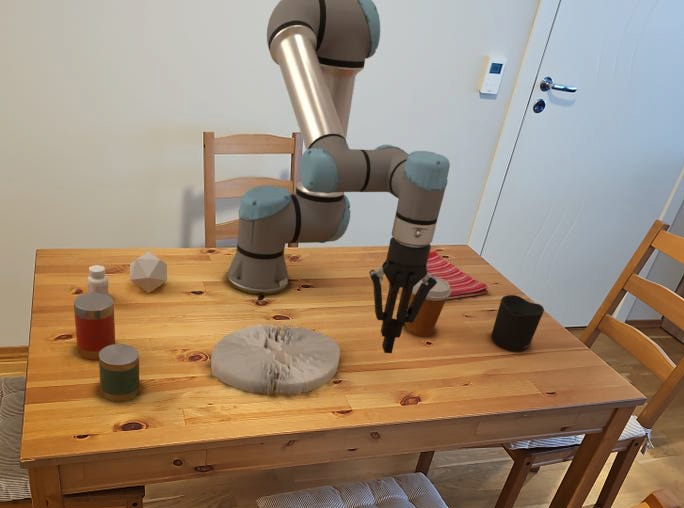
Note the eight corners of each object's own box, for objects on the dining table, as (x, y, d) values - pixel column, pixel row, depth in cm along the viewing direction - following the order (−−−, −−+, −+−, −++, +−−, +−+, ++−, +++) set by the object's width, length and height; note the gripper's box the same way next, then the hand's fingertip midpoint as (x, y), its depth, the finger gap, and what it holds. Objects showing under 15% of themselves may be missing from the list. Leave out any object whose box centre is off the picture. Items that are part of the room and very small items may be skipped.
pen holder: (499, 353, 144) (512, 314, 139) (482, 331, 152) (494, 294, 146) (537, 353, 146) (551, 315, 140) (518, 332, 154) (531, 295, 148)
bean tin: (105, 378, 120) (103, 342, 115) (142, 381, 120) (141, 345, 116) (97, 400, 114) (94, 363, 110) (136, 403, 114) (135, 366, 110)
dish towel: (434, 258, 187) (436, 249, 186) (488, 294, 170) (491, 285, 169) (386, 264, 180) (388, 255, 178) (438, 302, 163) (441, 293, 161)
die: (174, 294, 152) (174, 252, 153) (152, 288, 144) (151, 244, 145) (145, 297, 156) (145, 256, 156) (121, 291, 147) (121, 249, 148)
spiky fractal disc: (192, 345, 132) (192, 334, 131) (309, 326, 145) (310, 315, 143) (235, 408, 116) (236, 395, 115) (362, 380, 129) (365, 369, 127)
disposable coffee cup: (439, 343, 145) (452, 296, 139) (397, 334, 146) (408, 287, 140) (439, 323, 153) (451, 278, 146) (399, 315, 154) (410, 270, 148)
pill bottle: (112, 297, 146) (111, 266, 142) (101, 305, 142) (100, 274, 138) (95, 293, 147) (94, 262, 143) (84, 301, 143) (82, 269, 139)
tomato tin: (82, 339, 130) (78, 290, 124) (118, 341, 131) (116, 294, 125) (73, 358, 124) (69, 308, 118) (111, 361, 125) (109, 312, 119)
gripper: (379, 245, 113) (357, 357, 126) (450, 251, 114) (422, 361, 127) (373, 229, 120) (353, 337, 132) (440, 235, 121) (414, 342, 133)
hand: (386, 349), depth 129 cm, fingers closed
